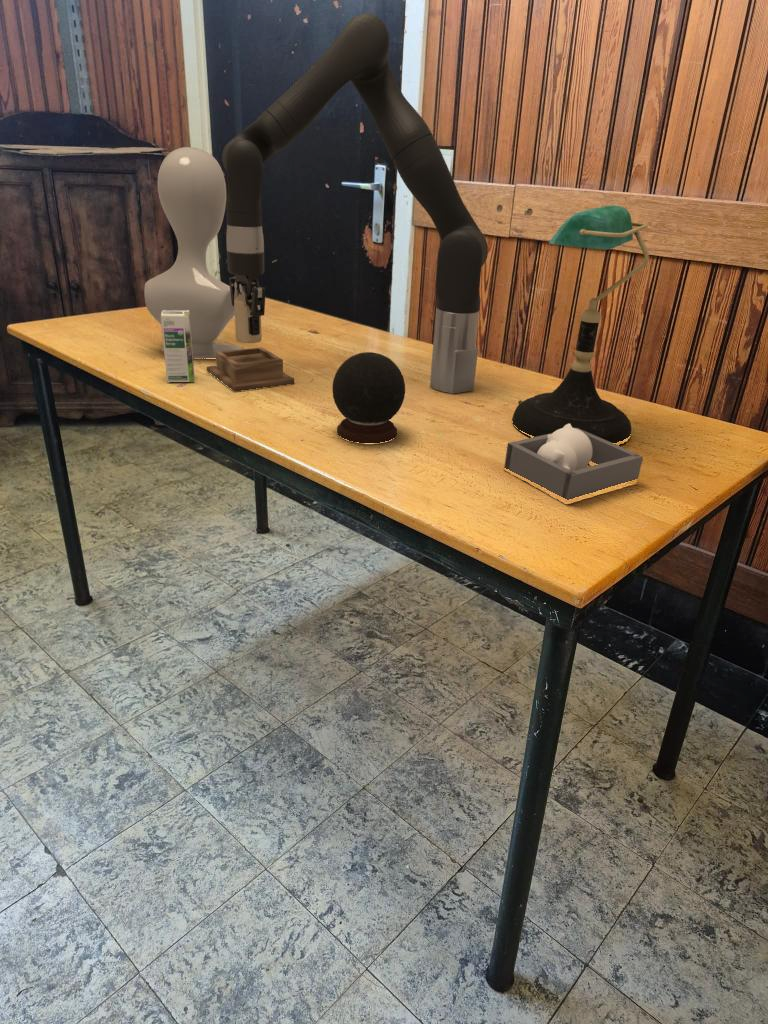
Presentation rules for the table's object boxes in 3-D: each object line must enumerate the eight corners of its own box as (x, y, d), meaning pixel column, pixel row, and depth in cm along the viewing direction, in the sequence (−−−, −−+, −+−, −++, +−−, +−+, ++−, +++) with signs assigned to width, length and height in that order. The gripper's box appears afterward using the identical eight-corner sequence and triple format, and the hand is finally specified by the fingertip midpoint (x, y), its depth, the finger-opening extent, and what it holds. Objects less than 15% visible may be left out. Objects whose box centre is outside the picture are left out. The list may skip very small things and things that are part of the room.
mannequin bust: (257, 345, 181) (251, 150, 161) (228, 366, 164) (217, 149, 143) (177, 337, 184) (161, 144, 163) (140, 357, 166) (116, 143, 146)
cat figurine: (561, 434, 108) (588, 412, 117) (504, 453, 115) (533, 431, 124) (582, 486, 110) (607, 460, 118) (524, 501, 117) (552, 476, 125)
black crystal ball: (413, 428, 134) (418, 351, 127) (384, 452, 123) (389, 368, 116) (351, 416, 138) (353, 340, 131) (318, 437, 127) (319, 355, 120)
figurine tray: (636, 484, 116) (643, 456, 114) (566, 505, 108) (572, 475, 105) (572, 453, 126) (577, 427, 124) (503, 470, 118) (507, 442, 116)
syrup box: (166, 383, 150) (159, 314, 143) (168, 375, 155) (161, 308, 148) (194, 383, 151) (188, 315, 145) (194, 375, 156) (189, 308, 150)
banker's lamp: (533, 399, 154) (564, 199, 135) (641, 420, 145) (690, 210, 126) (492, 435, 132) (522, 205, 114) (615, 463, 124) (670, 218, 105)
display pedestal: (294, 384, 154) (294, 361, 152) (234, 392, 147) (233, 368, 145) (263, 365, 166) (263, 344, 164) (206, 371, 159) (205, 350, 157)
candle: (235, 343, 150) (233, 295, 145) (236, 337, 155) (234, 290, 150) (261, 343, 151) (260, 296, 146) (261, 337, 156) (260, 290, 151)
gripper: (277, 253, 141) (278, 337, 149) (248, 243, 151) (251, 322, 159) (242, 254, 137) (245, 341, 145) (215, 244, 148) (219, 325, 155)
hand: (248, 331), depth 152 cm, fingers closed on candle, 5 cm apart
